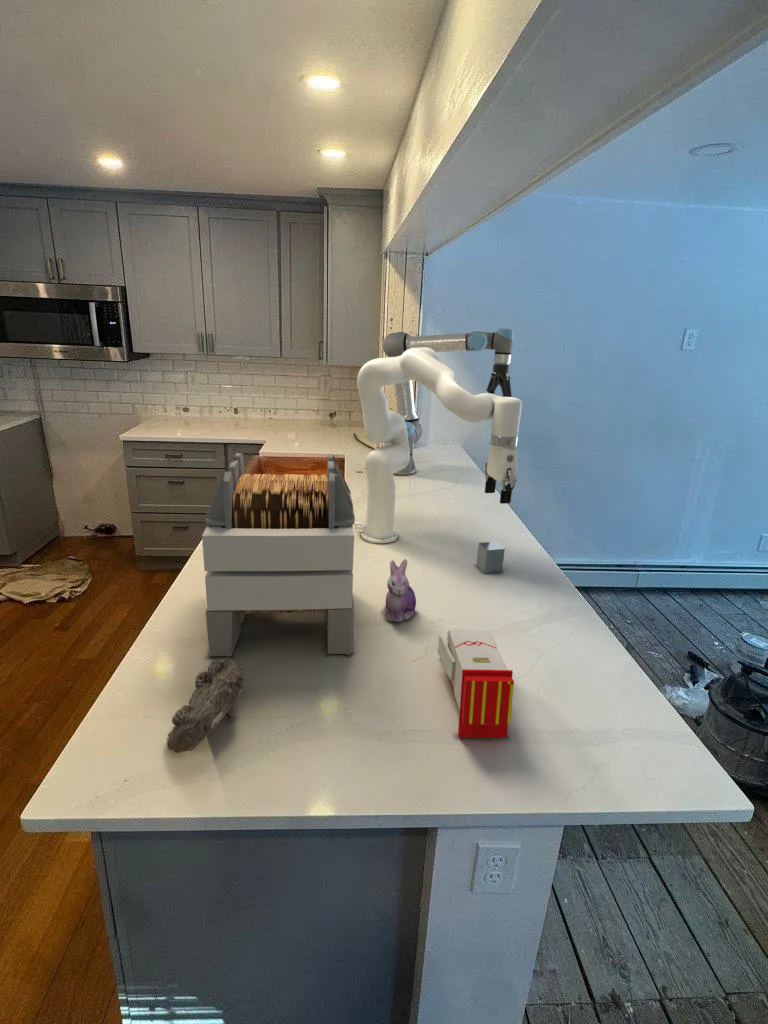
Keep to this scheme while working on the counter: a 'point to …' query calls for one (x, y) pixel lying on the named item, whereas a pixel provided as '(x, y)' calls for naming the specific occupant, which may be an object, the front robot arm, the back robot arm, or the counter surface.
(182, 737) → the fossil
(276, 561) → the record crate stand
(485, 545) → the brick
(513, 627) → the counter surface
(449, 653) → the toy
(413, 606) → the figurine
